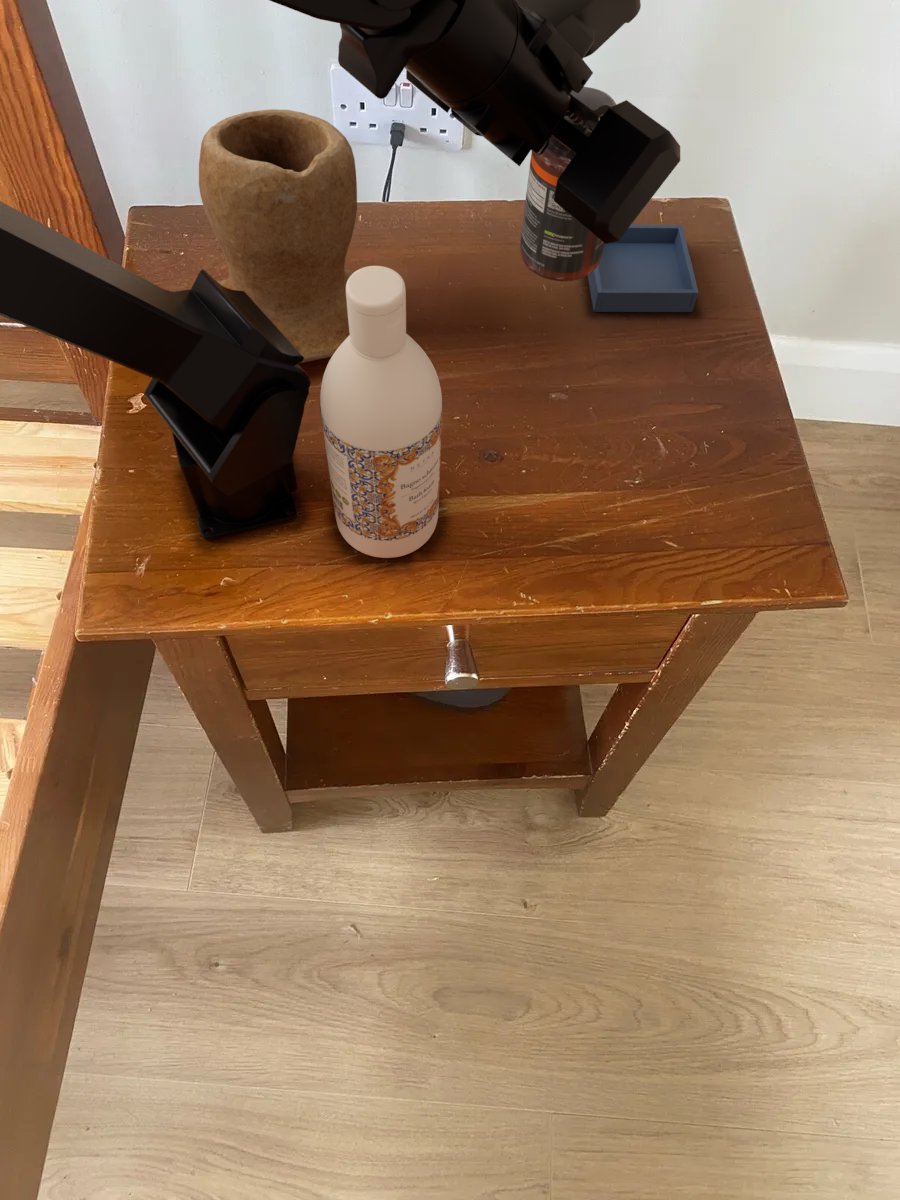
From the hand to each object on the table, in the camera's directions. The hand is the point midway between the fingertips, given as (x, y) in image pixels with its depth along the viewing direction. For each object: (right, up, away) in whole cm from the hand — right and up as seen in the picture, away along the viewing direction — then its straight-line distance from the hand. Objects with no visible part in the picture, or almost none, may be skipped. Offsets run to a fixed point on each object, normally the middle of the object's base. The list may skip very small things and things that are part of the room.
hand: (589, 167), depth 59 cm
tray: (+6, -2, +14) cm, 16 cm away
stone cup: (-22, -7, +10) cm, 26 cm away
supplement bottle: (-1, -4, +5) cm, 7 cm away
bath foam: (-14, -23, +2) cm, 27 cm away
